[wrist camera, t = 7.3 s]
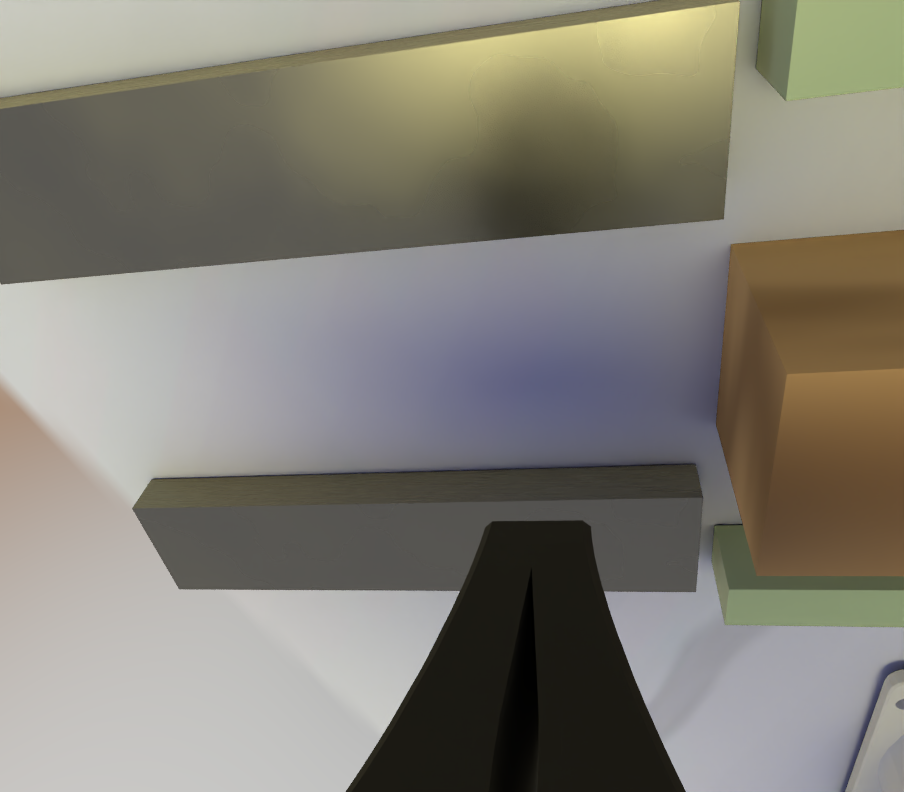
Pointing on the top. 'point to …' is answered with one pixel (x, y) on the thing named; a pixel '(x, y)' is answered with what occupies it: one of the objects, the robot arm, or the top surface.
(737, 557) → the tray
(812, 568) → the block
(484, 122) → the slot rails
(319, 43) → the top surface
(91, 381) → the top surface
